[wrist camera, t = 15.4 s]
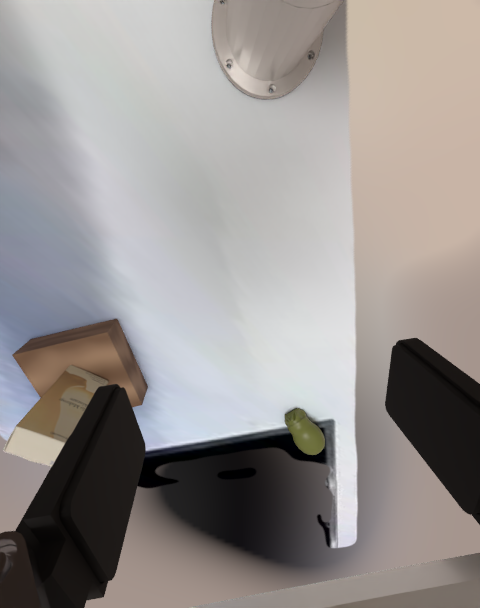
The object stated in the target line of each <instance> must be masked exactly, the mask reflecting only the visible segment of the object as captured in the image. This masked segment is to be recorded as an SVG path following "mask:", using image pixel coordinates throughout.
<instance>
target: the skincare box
mask: <svg viewBox="0 0 480 608" xmlns="http://www.w3.org/2000/svg"><path fill="white" fill-rule="evenodd" d="M107 384H108V381H107V380H105V379H103V378H101V377H98V376H96V375H94V374H92V373H89V372H87V371H85V370H82V369H80V368H77V367H75V366H72V365H70V366H69V367H68V368H67V369H66V370H65V371H64V373H63V374H62V375H61V376H60V377H59V378H58V379H57V380H56V382H55V383H54V384H53V385H52V386H51V387H50V388H49V389H48V391H47V392H46V393H45V394H44V395H43V396H42V397H41V398H40V400H39V401H38V402H37V403H36V404H35V405H34V406H33V408H32V409H31V410H30V411H29V412H28V413H27V414H26V415H25V417H24V418H23V419H22V420H21V421H20V422H19V423H18V424H17V426H16V427H15V428H14V430H13V432H12V434H11V435H10V437H9V439H8V441H7V443H6V445H5V447H4V449H3V450H4V452H6V453H10V454H13V455H16V456H19V457H22V458H24V459H27V460H29V461H32V462H36V463H40V464H44V465H46V466H49V467H52V465H53V464H54V462H55V460H56V458H57V457H58V455H59V453H60V451H61V450H62V448H63V446H64V444H65V443H66V441H67V439H68V438H69V436H70V435H71V434H72V432H73V430H74V429H75V427H76V425H77V423H78V422H79V420H80V418H81V416H82V415H83V413H84V411H85V409H86V407H87V406H88V404H89V402H90V400H91V399H92V397H93V395H94V393H95V391H96V390H97V388H98V387H100V386H106V385H107Z"/></svg>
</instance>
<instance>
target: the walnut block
mask: <svg viewBox="0 0 480 608" xmlns="http://www.w3.org/2000/svg"><path fill="white" fill-rule="evenodd" d="M13 357H14V358H15V360H16V361H17V363H18V364H19V366H20V367H21V369H22V370H23V372H24V373H25V375H26V376H27V378H28V379H29V381H30V382H31V384H32V385H33V387H34V388H35V390H36V391H37V393H38V394H39V396H40V397H42V396H43V395H44V394H45V393H46V392H47V391H48V389H49V388H50V387H51V386H52V385H53V384H54V383H55V382H56V380H57V379H58V378H59V377H60V376H61V375H62V374H63V373H64V371H65V370H66V369H67V368H68V367H69V366H70V365H72V366H75V367H77V368H80V369H82V370H85V371H87V372H89V373H92V374H94V375H96V376H98V377H101V378H103V379H105V380H107V381H108V384H107V385H112V384H118V385H119V386H120V388H122V387H124V388H125V390H126V392H127V395H128V398H129V400H130V403H131V406H132V407H135V406H139V405H142V403H143V400H144V397H145V394H146V391H147V388H148V386H147V384H146V381H145V379H144V377H143V375H142V373H141V370H140V368H139V366H138V364H137V362H136V359H135V357H134V355H133V353H132V350H131V348H130V346H129V344H128V342H127V339H126V337H125V335H124V333H123V331H122V328H121V326H120V324H119V322H118V319H113V320H109V321H105V322H101V323H96V324H92V325H88V326H84V327H80V328H75V329H71V330H67V331H63V332H59V333H55V334H50V335H46V336H42V337H38V338H34V339H31V340H29V341H28V342H27V343H26V344H25V345H23V346H22V347H21V348H20V349H19V350H18V351H16V352H15V353H14V354H13Z"/></svg>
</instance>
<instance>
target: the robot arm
mask: <svg viewBox="0 0 480 608" xmlns="http://www.w3.org/2000/svg"><path fill="white" fill-rule="evenodd" d="M221 1H223V2H224V3H225V4H221V3H220V2H221ZM343 1H344V0H214V4H213V11H212V38H213V46H214V49H215V53H216V57H217V59H218V62H219V64H220V66H221V68H222V70H223V72H224V73H225V75H226V76H227V78H228V79H229V80H230V81H231V82H232V83H233V85H234V86H235V87H236V88H238V89H239V90H241V91H242V92H243V93H245V94H247V95H249V96H252V97H254V98H259V99H274V98H278V97H281V96H284V95H286V94H287V93H289V92H291V91H293V90H294V89H295V88H296V87H297V86H298V85H300V84H301V82H302V81H303V80H304V79H305V78H306V76H307V75H308V74H309V72H310V71H311V69H312V68H313V66H314V64H315V62H316V60H317V57H318V54H319V51H320V47H321V44H322V38H323V31H324V27H325V26H326V25H327V23H328V22H329V20H330V19H331V18H332V16H333V15H334V13H335V12H336V11H337V9H338V8H339V6H340V5H341V4H342V2H343ZM308 56H310V58H311V59H310V60H309V59H308ZM227 65H230V66H231V68H230V69H228V68H227ZM269 89H272V91H273V92H272V93H270V92H269ZM385 406H386V410H387V412H388V414H389V415H390V417H391V418H392V419H393V420H394V422H395V423H396V424H397V426H398V427H399V428H400V430H401V431H402V432H403V433H404V435H405V436H406V437H407V439H408V440H409V441H410V442H411V444H412V445H413V446H414V448H415V449H416V450H417V451H418V453H419V454H420V455H421V457H422V458H423V459H424V460H425V462H426V463H427V464H428V466H429V467H430V468H431V469H432V471H433V472H434V473H435V475H436V476H437V477H438V479H439V480H440V481H441V482H442V484H443V485H444V486H445V488H446V489H447V490H448V491H449V493H450V494H451V495H452V497H453V498H454V499H455V500H456V502H457V503H458V504H459V506H460V507H461V508H462V509H463V510H464V511H465V512H466V513H468V514H472V516H473V517H474V518H475V519H476V521H477V522H478V523H479V524H480V384H479V383H478V382H476V381H475V380H474V379H472V378H471V377H470V376H468V375H467V374H465V373H464V372H463V371H461V370H460V369H459V368H457V367H456V366H454V365H453V364H452V363H451V362H449V361H448V360H446V359H445V358H444V357H442V356H441V355H440V354H438V353H437V352H436V351H434V350H433V349H432V348H430V347H429V346H428V345H426V344H425V343H424V342H422V341H421V340H419V339H417V338H411V339H406V340H399V341H398V342H397V343H396V345H395V346H393V348H392V354H391V362H390V370H389V378H388V386H387V394H386V401H385ZM144 457H145V442H144V439H143V437H142V434H141V431H140V428H139V425H138V423H137V420H136V417H135V414H134V412H133V409H132V406H131V403H130V400H129V398H128V395H127V392H126V390H125V388H124V387H122V388H120V386H119V385H118V384H112V385H106V386H100V387H98V388H97V390H96V391H95V393H94V395H93V397H92V399H91V400H90V402H89V404H88V406H87V407H86V409H85V411H84V413H83V415H82V416H81V418H80V420H79V422H78V423H77V425H76V427H75V429H74V430H73V432H72V434H71V435H70V436H69V438H68V439H67V441H66V443H65V444H64V446H63V448H62V450H61V451H60V453H59V455H58V457H57V458H56V460H55V462H54V464H53V465H52V467H51V469H50V471H49V473H48V474H47V476H46V478H45V480H44V481H43V484H42V485H41V487H40V488H39V490H38V492H37V494H36V496H35V497H34V499H33V501H32V502H31V504H30V506H29V508H28V509H27V511H26V513H25V515H24V517H23V518H22V520H21V522H20V524H19V525H18V527H17V529H16V531H8V532H3V533H0V608H84V606H85V603H86V600H91V599H96V598H102V597H104V594H105V591H106V587H107V583H108V581H110V580H112V579H113V577H114V576H115V573H116V570H117V565H118V562H119V558H120V554H121V550H122V546H123V542H124V537H125V533H126V529H127V525H128V521H129V517H130V513H131V509H132V505H133V501H134V496H135V493H136V489H137V485H138V481H139V477H140V473H141V469H142V465H143V461H144ZM191 608H480V553H476V554H471V555H465V556H460V557H455V558H449V559H444V560H438V561H432V562H427V563H421V564H416V565H410V566H405V567H399V568H394V569H389V570H384V571H379V572H373V573H368V574H362V575H357V576H352V577H346V578H341V579H336V580H330V581H325V582H320V583H315V584H309V585H304V586H299V587H293V588H288V589H283V590H278V591H272V592H267V593H262V594H257V595H252V596H247V597H241V598H236V599H231V600H226V601H221V602H216V603H211V604H206V605H200V606H195V607H191Z"/></svg>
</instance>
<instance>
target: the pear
mask: <svg viewBox="0 0 480 608" xmlns="http://www.w3.org/2000/svg"><path fill="white" fill-rule="evenodd" d="M285 423H286V425H287V427H288V430H289V431H290V433H291V434H292V435H293V439H294V442H295V444H296V445H297V446H298V448H299V449H300V450H302V451H303V452H304V453H306V454H309V455H316V454H318V453H320V452H321V451H322V449H323V448H324V445H325V439H324V435H323V433H322V431H321V430H320V429H319V427H318V426H317V425H315V424H314V423H312V422H311V421H310V420H309V419H308V418H307V416H306V413H305V412H304V411H303V410H301V409H300V408H296V409H295V410H293V411H291V412H289V413H287V414H286V415H285Z"/></svg>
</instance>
